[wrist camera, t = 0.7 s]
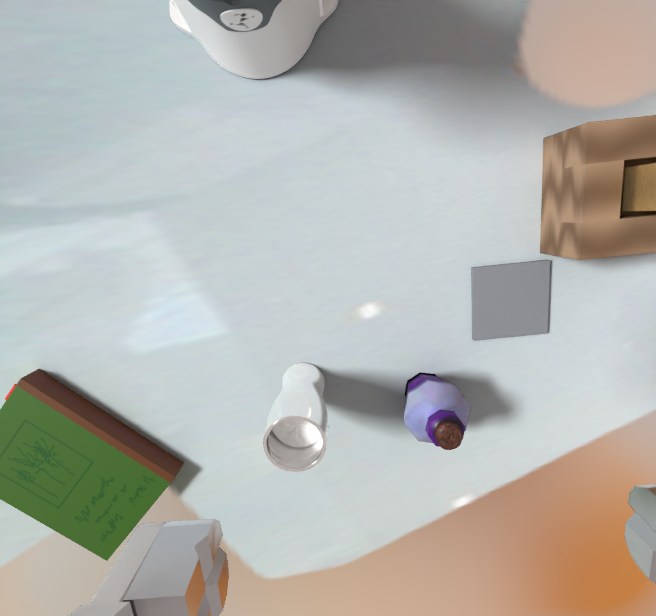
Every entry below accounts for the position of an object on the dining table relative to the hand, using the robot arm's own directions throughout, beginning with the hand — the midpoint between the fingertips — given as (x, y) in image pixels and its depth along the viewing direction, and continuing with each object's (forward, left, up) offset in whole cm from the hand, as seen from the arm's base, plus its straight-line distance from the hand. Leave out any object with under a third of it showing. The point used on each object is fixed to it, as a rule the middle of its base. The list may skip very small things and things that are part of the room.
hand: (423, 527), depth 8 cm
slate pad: (+7, +22, -43) cm, 49 cm away
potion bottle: (+19, +10, -44) cm, 49 cm away
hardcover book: (+25, -42, -44) cm, 66 cm away
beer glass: (+16, -7, -44) cm, 47 cm away
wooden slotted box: (-6, +33, -43) cm, 55 cm away
